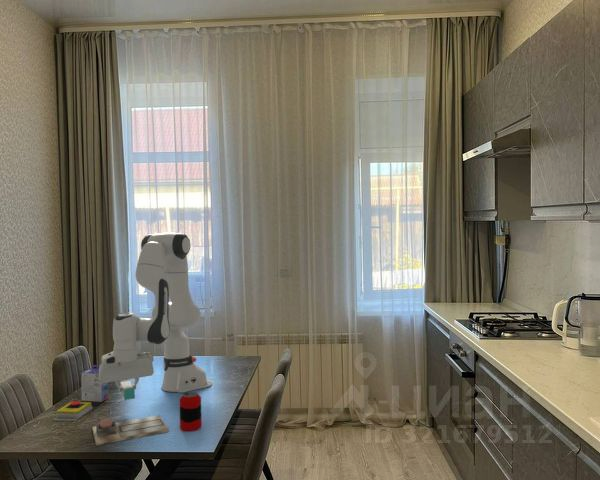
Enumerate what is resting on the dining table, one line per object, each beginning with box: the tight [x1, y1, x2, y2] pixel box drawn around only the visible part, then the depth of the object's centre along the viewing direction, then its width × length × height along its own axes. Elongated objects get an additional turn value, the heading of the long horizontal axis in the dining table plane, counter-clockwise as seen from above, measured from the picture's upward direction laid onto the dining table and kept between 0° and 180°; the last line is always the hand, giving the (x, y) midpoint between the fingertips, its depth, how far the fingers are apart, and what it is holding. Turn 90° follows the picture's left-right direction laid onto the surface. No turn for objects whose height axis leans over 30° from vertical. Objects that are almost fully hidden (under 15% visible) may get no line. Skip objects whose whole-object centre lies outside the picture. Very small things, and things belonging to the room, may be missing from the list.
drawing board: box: [91, 415, 170, 446], centre depth 183 cm, size 24×16×3 cm, turn 117°
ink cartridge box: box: [81, 364, 109, 403], centre depth 218 cm, size 10×6×14 cm, turn 78°
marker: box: [119, 380, 136, 401], centre depth 198 cm, size 4×12×4 cm, turn 27°
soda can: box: [179, 391, 202, 432], centre depth 185 cm, size 8×8×12 cm
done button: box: [99, 418, 113, 429], centre depth 179 cm, size 4×4×3 cm
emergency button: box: [52, 400, 94, 422], centre depth 201 cm, size 9×4×15 cm
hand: (127, 390), depth 198 cm, fingers closed on marker, 4 cm apart
